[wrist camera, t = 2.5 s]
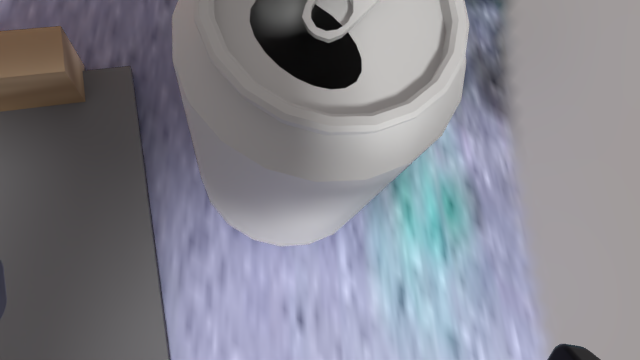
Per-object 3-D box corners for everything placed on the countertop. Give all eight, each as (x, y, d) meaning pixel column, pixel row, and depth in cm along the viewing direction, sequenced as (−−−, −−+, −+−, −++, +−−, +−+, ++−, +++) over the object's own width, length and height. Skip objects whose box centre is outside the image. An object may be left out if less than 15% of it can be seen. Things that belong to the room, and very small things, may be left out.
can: (164, 172, 21) (75, -14, 9) (277, 64, 23) (317, -188, 12) (294, 286, 20) (369, 236, 9) (396, 163, 23) (557, 1, 11)
